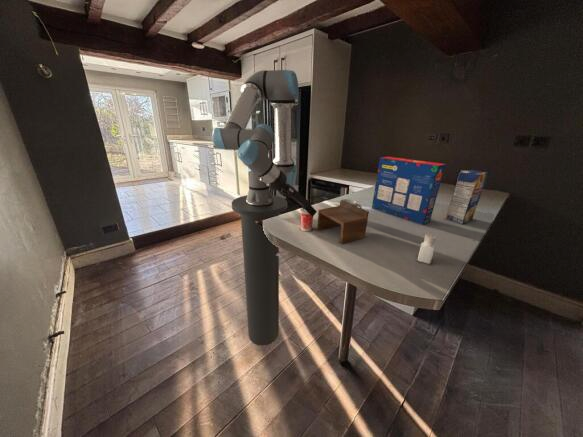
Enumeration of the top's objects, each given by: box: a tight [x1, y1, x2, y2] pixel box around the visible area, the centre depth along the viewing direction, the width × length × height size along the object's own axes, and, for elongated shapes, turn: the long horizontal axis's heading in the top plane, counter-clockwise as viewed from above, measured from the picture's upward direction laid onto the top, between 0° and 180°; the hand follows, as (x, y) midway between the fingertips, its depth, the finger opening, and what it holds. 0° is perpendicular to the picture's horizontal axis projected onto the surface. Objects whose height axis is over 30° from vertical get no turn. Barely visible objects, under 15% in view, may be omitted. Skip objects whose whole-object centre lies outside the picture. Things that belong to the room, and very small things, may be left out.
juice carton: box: [445, 169, 489, 225], centre depth 113 cm, size 12×8×24 cm, turn 124°
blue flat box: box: [371, 156, 446, 226], centre depth 117 cm, size 28×8×28 cm, turn 38°
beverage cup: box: [299, 198, 314, 232], centre depth 100 cm, size 6×6×14 cm
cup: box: [340, 198, 363, 209], centre depth 116 cm, size 11×8×8 cm
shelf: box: [316, 200, 370, 245], centre depth 98 cm, size 16×13×11 cm
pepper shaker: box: [417, 233, 437, 265], centre depth 79 cm, size 4×4×10 cm
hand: (305, 208), depth 98 cm, fingers open, 13 cm apart
